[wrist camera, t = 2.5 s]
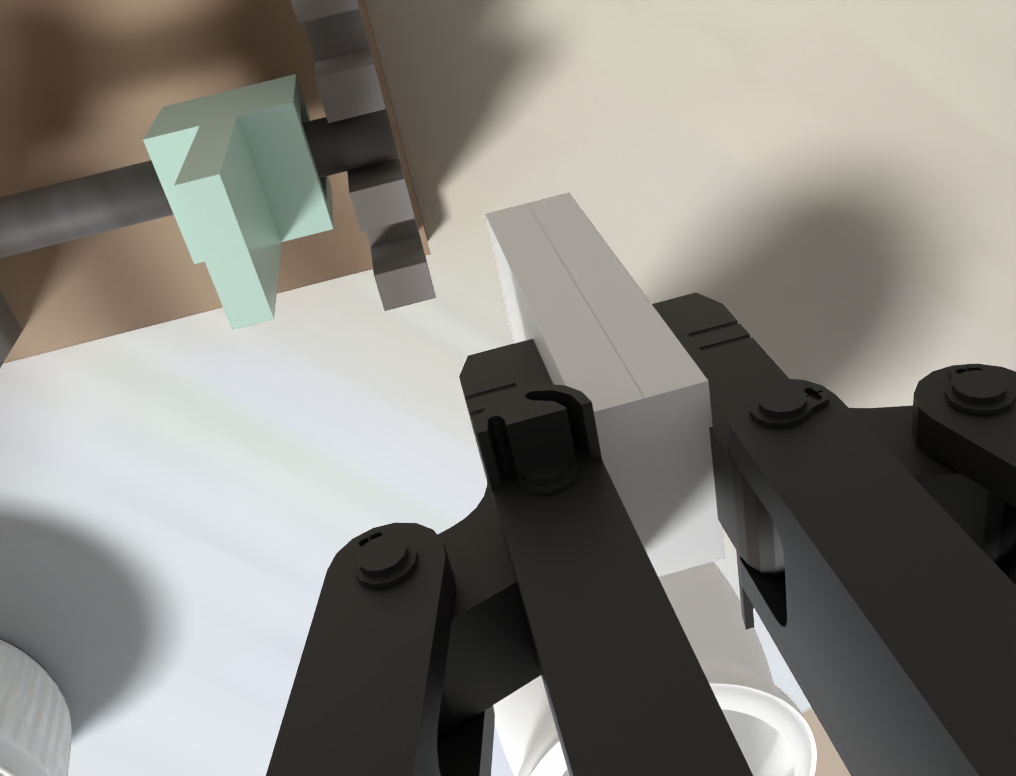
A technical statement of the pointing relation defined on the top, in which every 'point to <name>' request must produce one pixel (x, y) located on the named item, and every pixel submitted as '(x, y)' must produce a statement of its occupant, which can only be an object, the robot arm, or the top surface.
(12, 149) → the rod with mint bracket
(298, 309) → the top surface
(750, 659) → the jar
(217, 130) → the mint green stepped block
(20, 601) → the top surface
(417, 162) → the top surface
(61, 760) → the ramekin
